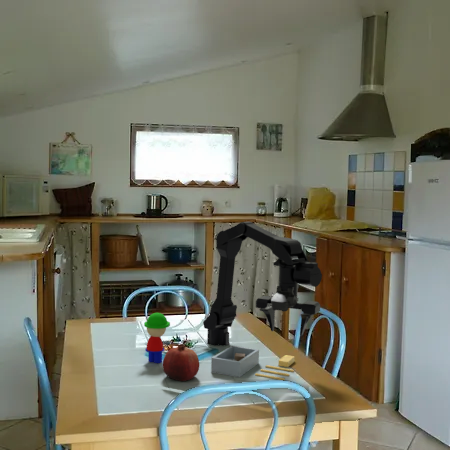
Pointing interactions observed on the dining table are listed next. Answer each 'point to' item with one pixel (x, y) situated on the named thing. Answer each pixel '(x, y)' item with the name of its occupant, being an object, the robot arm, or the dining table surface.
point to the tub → (234, 367)
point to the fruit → (181, 363)
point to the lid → (284, 361)
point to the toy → (155, 336)
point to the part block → (239, 356)
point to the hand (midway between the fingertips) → (286, 333)
